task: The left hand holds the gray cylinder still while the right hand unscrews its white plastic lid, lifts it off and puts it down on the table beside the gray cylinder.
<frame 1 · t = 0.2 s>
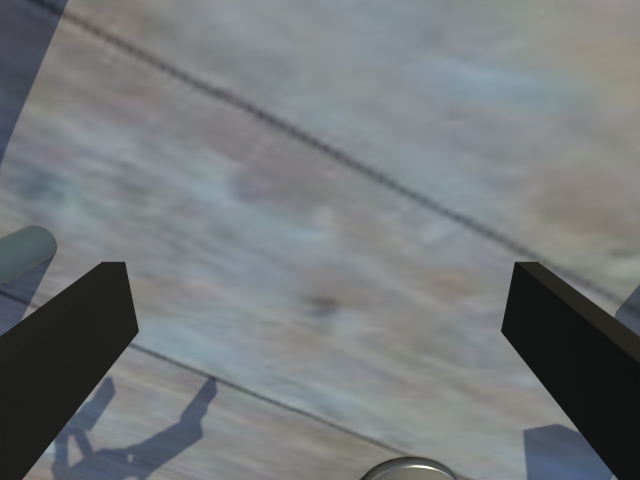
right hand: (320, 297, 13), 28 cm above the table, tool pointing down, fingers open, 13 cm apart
gray cylinder: (37, 242, 42), on the table
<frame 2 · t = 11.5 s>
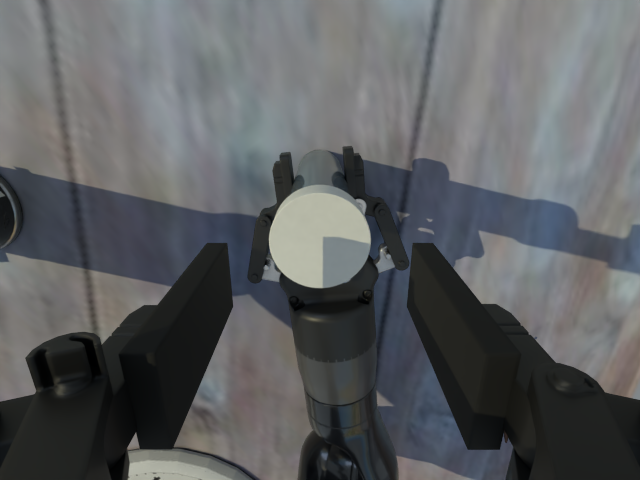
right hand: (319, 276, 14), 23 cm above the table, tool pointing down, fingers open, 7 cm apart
left hand: (316, 151, 28), fingers closed on gray cylinder, 4 cm apart
gray cylinder: (319, 171, 36), on the table, touching left hand
lid: (320, 240, 18), point 19 cm above the table, screwed on, not yet turned
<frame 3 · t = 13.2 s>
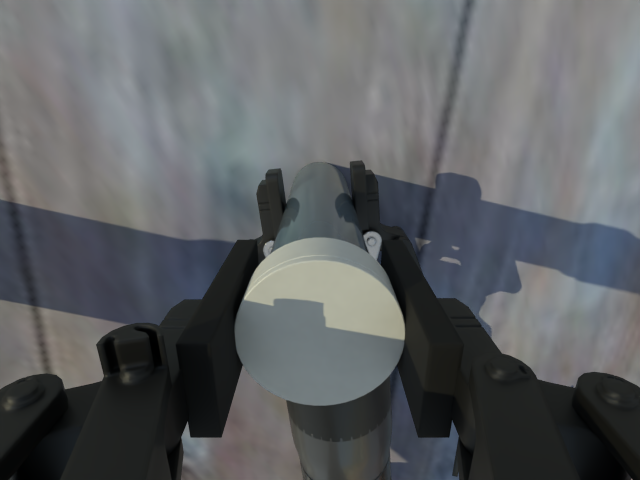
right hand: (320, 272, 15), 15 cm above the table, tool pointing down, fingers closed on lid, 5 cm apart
gray cylinder: (319, 189, 28), on the table, touching left hand
lid: (319, 332, 11), point 19 cm above the table, screwed on, not yet turned, touching right hand
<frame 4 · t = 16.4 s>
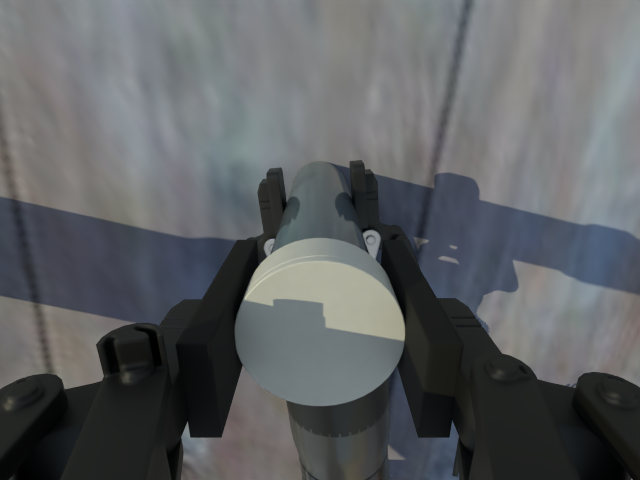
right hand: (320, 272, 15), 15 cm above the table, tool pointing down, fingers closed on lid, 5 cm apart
gray cylinder: (319, 188, 29), on the table, touching left hand
lid: (319, 332, 11), point 19 cm above the table, turned 105° so far, risen 0.4 cm, still on its thread, touching right hand
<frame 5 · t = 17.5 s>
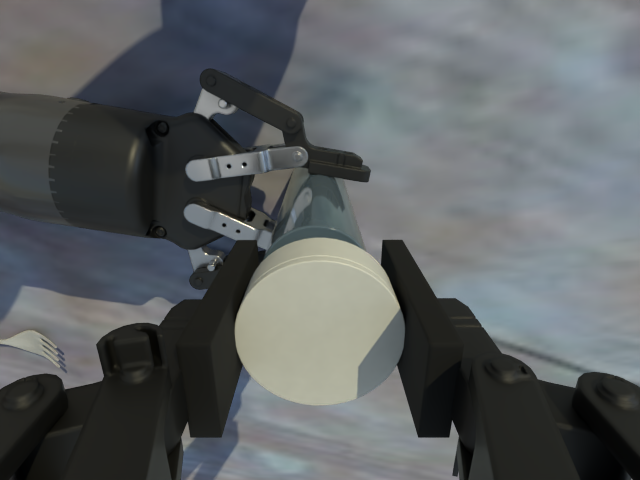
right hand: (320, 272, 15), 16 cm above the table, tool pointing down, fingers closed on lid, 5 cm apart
left hand: (358, 210, 24), fingers closed on gray cylinder, 4 cm apart
gray cylinder: (316, 181, 30), on the table, touching left hand
lid: (319, 332, 11), point 20 cm above the table, off its thread, touching right hand
when the right hand's fingers open (0 cm above the table, at t = 23.3 s): lid drops 3 cm, point 1 cm above the table.
when the left hand's fingers open (7 cm above the table, at t = 23.9 s): gray cylinder stays where it is, on the table.
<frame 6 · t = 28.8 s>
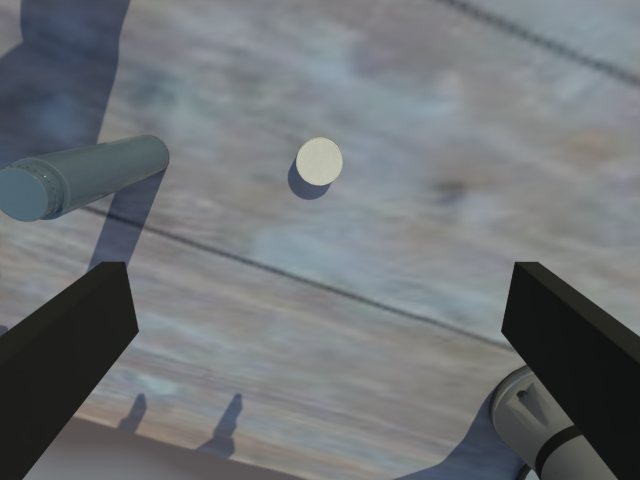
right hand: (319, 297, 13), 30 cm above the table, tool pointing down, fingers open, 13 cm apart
gray cylinder: (150, 154, 40), on the table
lid: (319, 162, 39), point 1 cm above the table, off its thread
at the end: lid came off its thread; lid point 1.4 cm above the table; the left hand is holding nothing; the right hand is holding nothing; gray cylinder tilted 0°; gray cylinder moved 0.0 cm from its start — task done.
